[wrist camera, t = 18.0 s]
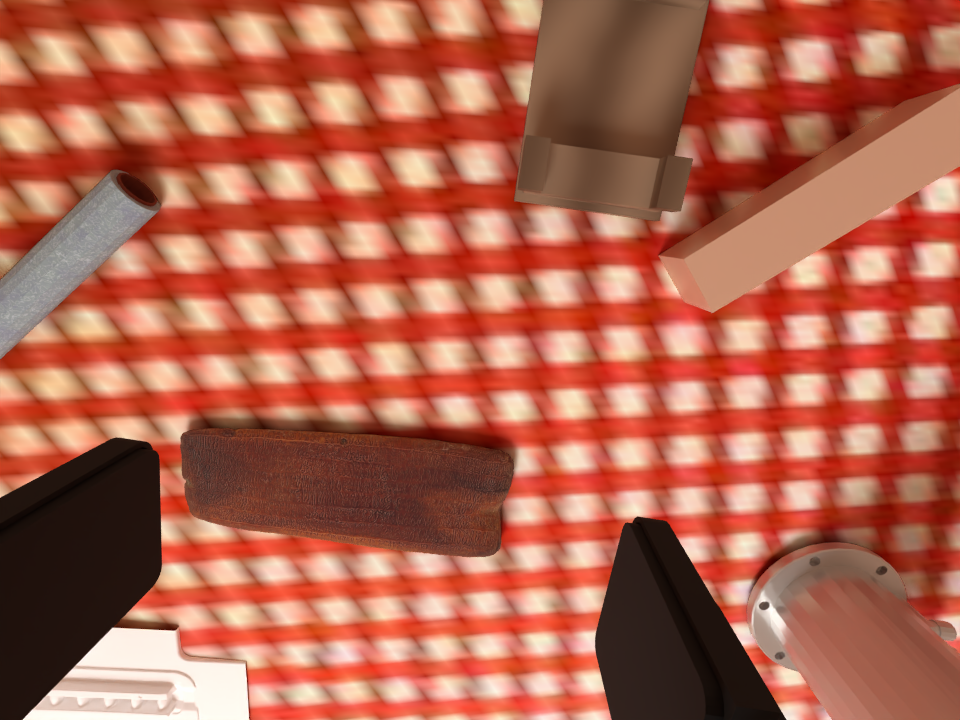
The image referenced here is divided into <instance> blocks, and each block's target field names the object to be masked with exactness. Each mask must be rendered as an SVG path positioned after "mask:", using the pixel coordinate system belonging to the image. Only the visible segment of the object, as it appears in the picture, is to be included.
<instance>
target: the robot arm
mask: <svg viewBox="0 0 960 720" xmlns="http://www.w3.org/2000/svg"><path fill="white" fill-rule="evenodd" d="M161 568H162V552H161V508H160V463H159V455H158V453H157V452H156V451H154V450H153V448H152V446H151V444H149V443H148V442H144V441H137V440H131V439H124V438H113V439H110V440H108V441H106V442H105V443H103V444H101V445H99V446H97V447H95V448H93V449H91V450H89V451H88V452H86V453H84V454H82V455H80V456H78V457H76V458H74V459H73V460H71V461H69V462H67V463H65V464H63V465H61V466H59V467H57V468H56V469H54V470H52V471H50V472H48V473H46V474H44V475H42V476H40V477H39V478H37V479H35V480H33V481H31V482H29V483H27V484H25V485H23V486H22V487H20V488H18V489H16V490H14V491H12V492H10V493H8V494H6V495H5V496H3V497H1V498H0V720H23V719H24V718H25V717H26V716H27V715H28V714H29V713H30V712H31V711H32V710H33V709H34V708H35V707H36V706H37V704H38V703H39V702H40V701H41V700H42V699H43V698H44V697H45V696H46V695H47V694H48V693H49V692H50V691H51V690H52V689H53V688H54V687H55V686H56V685H57V684H58V683H59V682H60V681H61V680H62V679H63V678H64V677H65V676H66V675H67V674H68V673H69V672H70V671H71V670H72V669H73V668H74V667H75V666H76V665H77V664H78V663H79V662H80V661H81V660H82V658H83V657H84V656H85V655H86V654H87V653H88V652H89V651H90V650H91V649H92V648H93V647H94V646H95V645H96V644H97V643H98V642H99V641H100V640H101V639H102V638H103V637H104V636H105V635H106V634H107V633H108V632H109V631H110V630H111V629H112V628H113V627H114V626H115V625H116V624H117V623H118V622H119V621H120V620H121V619H122V618H123V617H124V616H125V615H126V613H127V612H128V611H129V610H130V609H131V608H132V607H133V606H134V605H135V604H136V603H137V602H138V601H139V600H140V599H141V598H142V597H143V596H144V595H145V594H146V593H147V592H148V591H149V590H150V589H151V588H152V587H153V586H154V584H155V583H156V581H157V580H158V578H159V575H160V572H161ZM747 623H748V626H749V629H750V632H751V634H752V636H753V638H754V639H755V641H756V643H757V644H758V646H759V647H760V648H761V650H762V651H763V652H764V653H765V655H766V656H768V657H769V658H770V659H771V660H772V661H774V662H775V663H777V664H779V665H781V666H783V667H785V668H788V669H791V670H794V671H798V672H799V673H800V674H801V675H802V677H803V678H804V680H805V681H806V683H807V684H808V686H809V687H810V688H811V690H812V691H813V693H814V694H815V696H816V697H817V698H818V700H819V701H820V703H821V704H822V706H823V707H824V709H825V710H826V711H827V713H828V714H829V716H830V717H831V719H832V720H960V654H959V653H958V652H957V650H956V649H955V648H953V647H952V646H950V645H949V644H948V643H947V642H945V641H944V640H947V641H954V640H955V639H956V635H957V633H956V630H955V628H954V627H953V626H952V624H950V623H948V622H945V621H938V620H927V619H926V618H924V617H923V616H922V615H921V614H920V613H919V612H918V611H917V610H915V609H914V608H913V607H912V606H911V605H910V604H909V603H908V602H907V594H906V589H905V585H904V583H903V581H902V579H901V577H900V575H899V574H898V573H897V572H896V570H895V569H894V568H893V567H892V566H891V565H890V564H889V563H888V562H886V561H885V560H884V559H883V558H882V557H880V556H879V555H878V554H876V553H874V552H872V551H871V550H869V549H867V548H864V547H861V546H858V545H855V544H849V543H842V542H830V543H820V544H815V545H810V546H807V547H804V548H801V549H798V550H795V551H793V552H791V553H790V554H788V555H786V556H784V557H782V558H781V559H779V560H778V561H777V562H775V563H774V564H773V565H771V566H770V567H769V568H768V569H767V570H766V571H765V572H764V573H763V574H762V576H761V577H760V578H759V580H758V581H757V583H756V584H755V586H754V587H753V589H752V592H751V594H750V597H749V599H748V605H747ZM595 648H596V655H597V659H598V664H599V668H600V672H601V676H602V681H603V685H604V689H605V693H606V697H607V702H608V706H609V710H610V714H611V719H612V720H786V718H785V717H784V715H783V713H782V712H781V710H780V708H779V707H778V705H777V703H776V702H775V700H774V698H773V697H772V695H771V693H770V691H769V690H768V688H767V686H766V685H765V683H764V681H763V680H762V678H761V676H760V675H759V673H758V671H757V670H756V668H755V666H754V665H753V663H752V661H751V660H750V658H749V656H748V655H747V653H746V651H745V650H744V648H743V646H742V644H741V643H740V641H739V639H738V638H737V636H736V634H735V633H734V631H733V629H732V628H731V626H730V624H729V623H728V621H727V619H726V618H725V616H724V614H723V613H722V611H721V609H720V608H719V606H718V605H717V604H716V602H715V601H714V599H713V598H712V596H711V594H710V593H709V591H708V589H707V587H706V586H705V584H704V582H703V581H702V579H701V577H700V576H699V574H698V572H697V571H696V569H695V567H694V566H693V564H692V562H691V560H690V559H689V557H688V555H687V554H686V552H685V550H684V549H683V547H682V545H681V544H680V542H679V540H678V539H677V537H676V535H675V534H674V532H673V530H672V528H671V527H670V525H669V524H668V523H667V521H663V520H656V519H650V518H643V517H636V518H635V519H634V521H633V523H625V525H624V526H623V529H622V533H621V537H620V541H619V545H618V549H617V553H616V556H615V560H614V564H613V568H612V572H611V576H610V580H609V584H608V588H607V592H606V595H605V599H604V603H603V607H602V611H601V615H600V619H599V623H598V627H597V631H596V637H595Z"/></svg>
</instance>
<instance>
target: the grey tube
mask: <svg viewBox="0 0 960 720" xmlns="http://www.w3.org/2000/svg"><path fill="white" fill-rule="evenodd" d="M160 207H161V205H160V204H159V203H158V202H157V199H156V196H155V195H154V194H153V192H152V191H151V190H150V189H149V188H148V187H147V186H146V185H145V184H144V183H143V182H141V181H140V180H139V179H137V178H135V177H134V176H132V175H130V174H128V173H126V172H123V171H120V170H111V171H110V172H109V173H108V174H107V175H106V176H105V177H104V178H103V179H102V180H101V181H100V182H99V183H98V184H97V185H96V186H95V187H94V188H93V189H92V190H91V191H90V192H89V193H88V194H87V195H86V196H85V197H84V198H83V199H82V200H81V201H80V202H79V203H78V204H77V205H76V206H75V207H74V208H73V209H72V210H71V211H70V212H69V213H68V214H67V215H66V216H65V217H64V218H63V219H61V220H60V221H59V222H58V223H57V224H56V225H55V226H54V227H53V228H52V229H51V230H50V231H49V232H48V233H47V234H46V235H45V236H44V237H43V238H42V239H41V240H40V241H39V242H38V243H37V244H36V245H35V246H34V247H33V248H32V249H31V250H30V251H29V252H28V253H27V254H26V255H25V256H24V257H23V258H22V259H21V260H20V261H19V262H18V263H17V264H16V265H15V266H14V267H13V268H12V269H11V270H10V271H9V272H8V273H7V274H6V275H5V276H4V277H3V278H1V279H0V359H1V358H2V357H3V356H4V355H5V354H6V353H7V352H9V351H10V350H11V349H12V348H13V347H14V346H15V345H16V344H17V343H18V342H19V341H20V340H21V339H22V338H23V337H25V336H26V335H27V334H28V333H29V332H30V331H31V330H32V329H33V328H34V327H35V326H36V325H37V324H38V323H39V322H41V321H42V320H43V319H44V318H45V317H46V316H47V315H48V314H49V313H50V312H51V311H52V310H53V309H54V308H55V307H57V306H58V305H59V304H60V303H61V302H62V301H63V300H64V299H65V298H66V297H67V296H68V295H69V294H70V293H72V292H73V291H74V290H75V289H76V288H77V287H78V286H79V285H80V284H81V283H82V282H83V281H84V280H85V279H86V278H88V277H89V276H90V275H91V274H92V273H93V272H94V271H95V270H96V269H97V268H98V267H99V266H100V265H101V264H102V263H104V262H105V261H106V260H107V259H108V258H109V257H110V256H111V255H112V254H113V253H114V252H115V251H116V250H117V249H118V248H120V247H121V246H122V245H123V244H124V243H125V242H126V241H127V240H128V239H129V238H130V237H131V236H132V235H133V234H134V233H136V232H137V231H138V230H139V229H140V228H141V227H142V226H143V225H144V224H145V223H146V222H147V221H148V220H149V219H151V218H152V217H153V216H154V215H155V214H156V213H157V212H158V211H159V210H160Z"/></svg>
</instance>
